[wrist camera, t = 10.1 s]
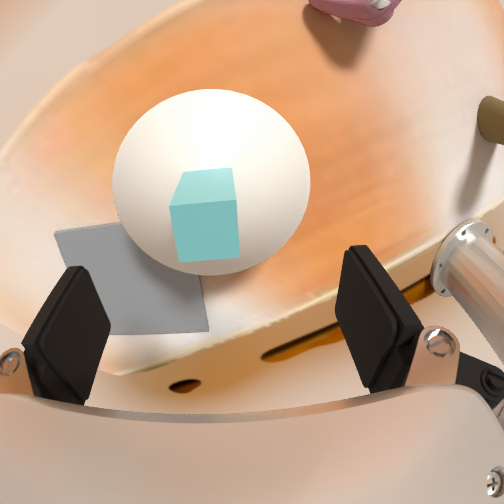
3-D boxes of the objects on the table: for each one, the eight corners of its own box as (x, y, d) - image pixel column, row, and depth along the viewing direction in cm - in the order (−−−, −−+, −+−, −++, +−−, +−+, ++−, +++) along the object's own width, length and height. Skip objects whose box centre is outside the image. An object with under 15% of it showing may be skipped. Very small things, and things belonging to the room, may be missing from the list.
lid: (307, 87, 16) (349, 87, 10) (301, 260, 22) (326, 318, 17) (103, 106, 15) (52, 119, 9) (138, 273, 22) (119, 333, 16)
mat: (189, 214, 26) (188, 216, 25) (209, 328, 34) (209, 331, 33) (55, 231, 25) (53, 233, 24) (99, 331, 33) (98, 334, 32)
